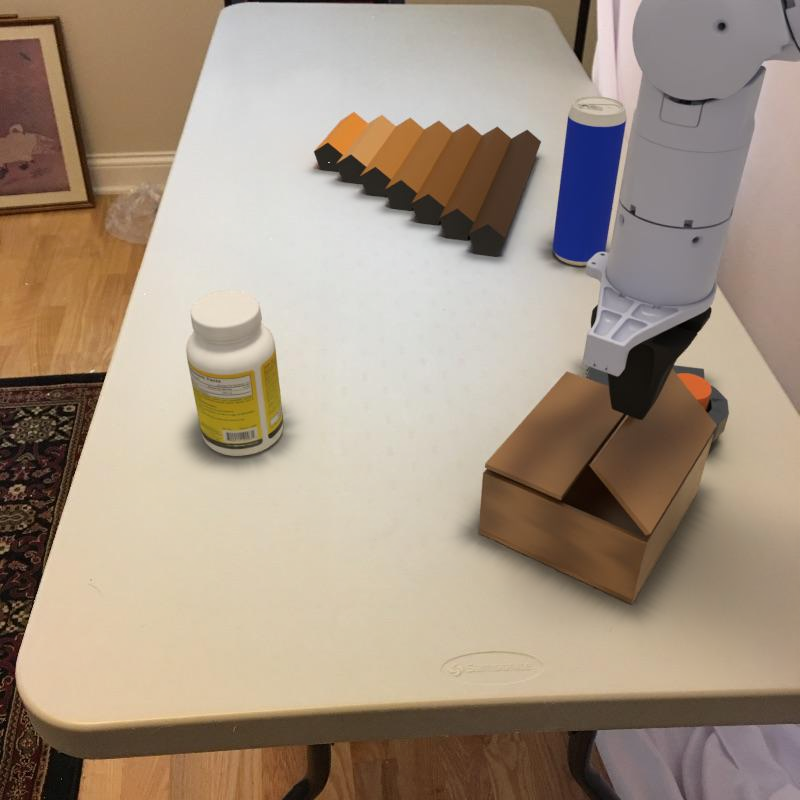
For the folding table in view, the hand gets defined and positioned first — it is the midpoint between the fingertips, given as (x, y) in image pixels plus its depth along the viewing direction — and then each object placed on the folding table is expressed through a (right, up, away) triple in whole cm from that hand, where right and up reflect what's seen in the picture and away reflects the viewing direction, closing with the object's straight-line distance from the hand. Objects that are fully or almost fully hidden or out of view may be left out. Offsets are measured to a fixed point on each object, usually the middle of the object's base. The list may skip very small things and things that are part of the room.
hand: (630, 408), depth 55 cm
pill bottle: (-26, -2, +13) cm, 29 cm away
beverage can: (+4, +15, +35) cm, 38 cm away
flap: (+2, -2, 0) cm, 3 cm away
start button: (+7, 0, +12) cm, 13 cm away
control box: (+5, 0, +16) cm, 16 cm away
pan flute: (-13, +24, +46) cm, 54 cm away
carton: (-1, -7, +7) cm, 10 cm away
